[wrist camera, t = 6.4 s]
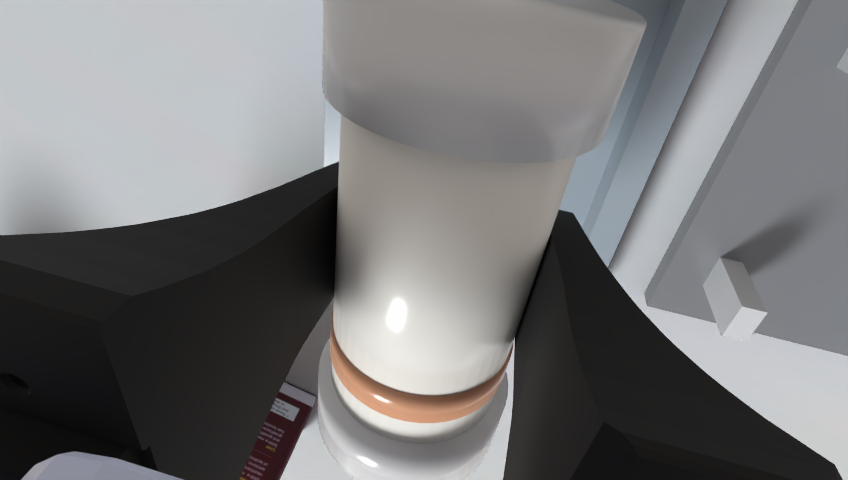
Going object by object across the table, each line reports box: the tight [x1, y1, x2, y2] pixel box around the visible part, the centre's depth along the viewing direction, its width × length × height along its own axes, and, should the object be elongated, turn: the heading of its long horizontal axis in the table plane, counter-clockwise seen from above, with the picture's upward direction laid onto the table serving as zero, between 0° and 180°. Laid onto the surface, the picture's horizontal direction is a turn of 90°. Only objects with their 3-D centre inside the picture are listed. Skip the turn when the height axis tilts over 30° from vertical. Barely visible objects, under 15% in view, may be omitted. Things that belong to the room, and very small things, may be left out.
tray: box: [324, 0, 728, 268], centre depth 17 cm, size 15×11×2 cm
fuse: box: [318, 0, 647, 480], centre depth 10 cm, size 10×5×5 cm, turn 172°
